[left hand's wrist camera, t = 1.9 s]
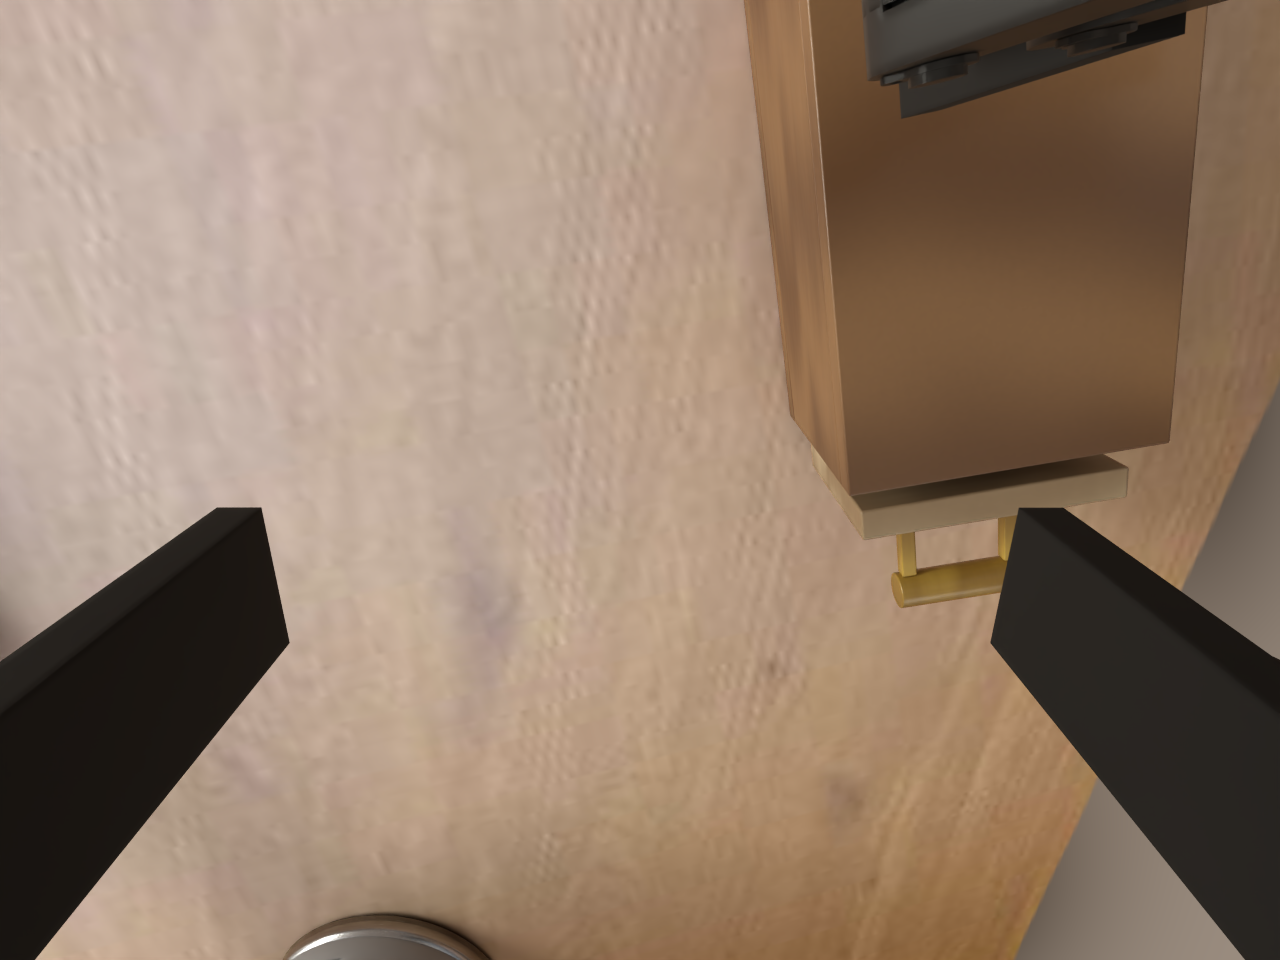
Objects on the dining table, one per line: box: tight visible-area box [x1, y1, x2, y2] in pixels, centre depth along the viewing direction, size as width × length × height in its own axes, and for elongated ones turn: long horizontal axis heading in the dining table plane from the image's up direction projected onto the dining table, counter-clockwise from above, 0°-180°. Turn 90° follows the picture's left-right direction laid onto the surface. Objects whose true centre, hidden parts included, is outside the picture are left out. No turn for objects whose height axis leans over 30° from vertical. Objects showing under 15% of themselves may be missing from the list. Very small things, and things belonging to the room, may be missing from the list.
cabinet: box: [744, 0, 1208, 496], centre depth 25 cm, size 17×11×10 cm, turn 10°
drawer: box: [811, 444, 1128, 608], centre depth 27 cm, size 21×9×8 cm, turn 10°
